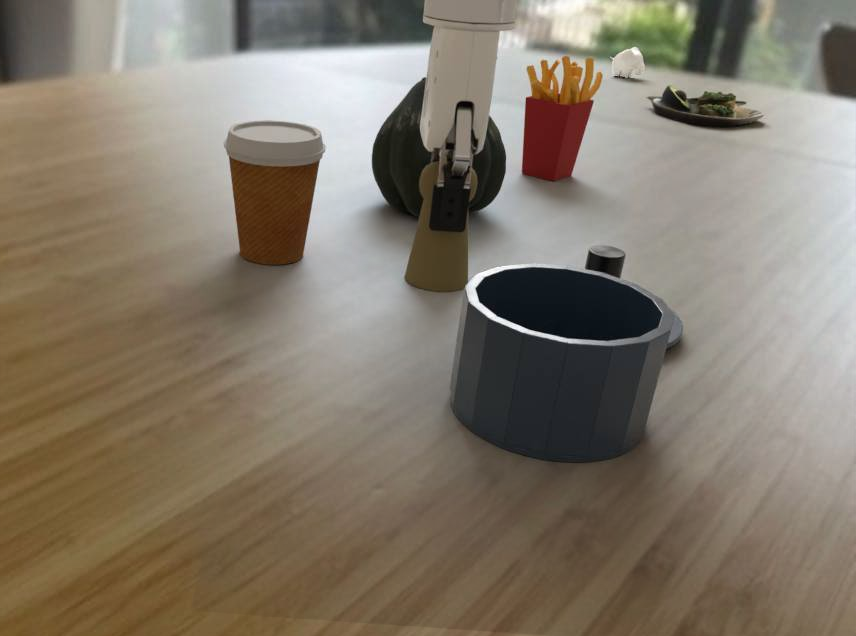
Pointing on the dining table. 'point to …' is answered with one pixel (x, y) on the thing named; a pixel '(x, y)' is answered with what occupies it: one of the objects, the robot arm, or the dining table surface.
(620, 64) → the elephant figurine
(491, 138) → the squash
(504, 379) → the tin
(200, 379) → the dining table surface
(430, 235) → the cork
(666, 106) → the salad plate
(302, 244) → the disposable coffee cup
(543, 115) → the french fries
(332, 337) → the dining table surface
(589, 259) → the tin lid
